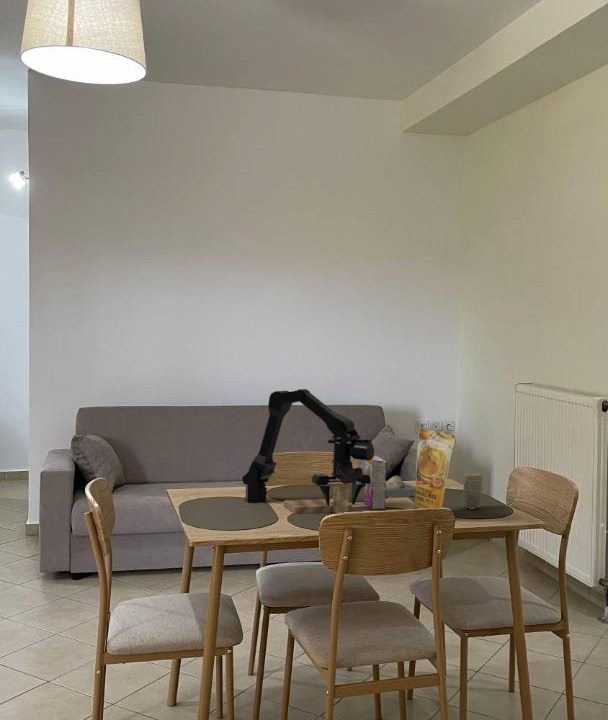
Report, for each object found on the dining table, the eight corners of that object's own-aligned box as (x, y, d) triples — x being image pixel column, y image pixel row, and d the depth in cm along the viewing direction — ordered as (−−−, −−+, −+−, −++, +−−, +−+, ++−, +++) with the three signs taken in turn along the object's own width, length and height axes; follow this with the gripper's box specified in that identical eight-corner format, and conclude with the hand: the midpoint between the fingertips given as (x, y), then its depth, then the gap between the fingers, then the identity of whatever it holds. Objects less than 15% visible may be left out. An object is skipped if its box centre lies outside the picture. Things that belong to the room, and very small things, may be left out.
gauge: (336, 513, 271) (337, 488, 270) (326, 508, 279) (327, 484, 279) (347, 513, 272) (348, 488, 272) (338, 507, 280) (338, 483, 280)
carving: (460, 509, 285) (461, 474, 285) (464, 505, 292) (465, 471, 292) (479, 511, 283) (480, 476, 282) (482, 507, 290) (483, 473, 289)
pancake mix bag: (423, 509, 283) (426, 426, 283) (455, 521, 266) (458, 433, 265) (406, 510, 281) (408, 427, 280) (437, 522, 263) (439, 433, 263)
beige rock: (372, 494, 310) (382, 470, 313) (394, 506, 311) (404, 481, 314) (379, 493, 303) (389, 468, 306) (402, 505, 304) (412, 480, 307)
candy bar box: (363, 502, 292) (364, 456, 291) (377, 502, 292) (378, 456, 292) (371, 509, 281) (372, 460, 280) (385, 509, 281) (387, 460, 281)
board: (294, 513, 270) (294, 507, 270) (283, 506, 281) (283, 500, 281) (352, 511, 276) (352, 505, 276) (339, 504, 288) (339, 498, 288)
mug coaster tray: (381, 498, 302) (382, 489, 302) (366, 491, 315) (366, 483, 315) (419, 496, 306) (419, 488, 306) (402, 490, 320) (403, 482, 320)
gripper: (323, 461, 262) (322, 511, 262) (378, 460, 268) (376, 509, 268) (312, 456, 272) (310, 504, 273) (364, 455, 278) (363, 502, 279)
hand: (340, 505), depth 273 cm, fingers open, 8 cm apart
